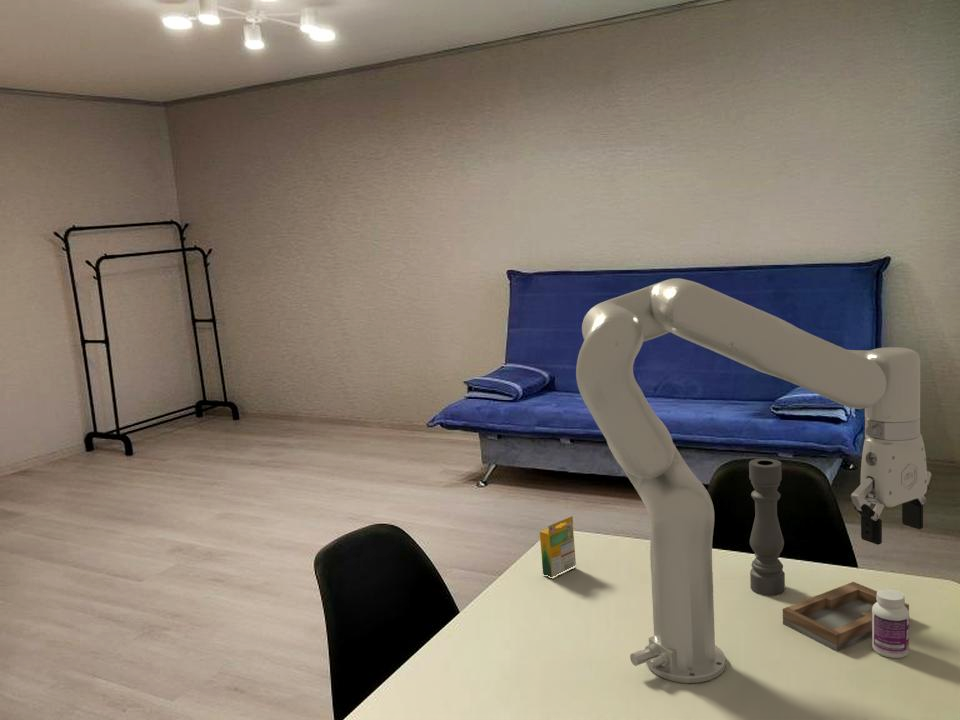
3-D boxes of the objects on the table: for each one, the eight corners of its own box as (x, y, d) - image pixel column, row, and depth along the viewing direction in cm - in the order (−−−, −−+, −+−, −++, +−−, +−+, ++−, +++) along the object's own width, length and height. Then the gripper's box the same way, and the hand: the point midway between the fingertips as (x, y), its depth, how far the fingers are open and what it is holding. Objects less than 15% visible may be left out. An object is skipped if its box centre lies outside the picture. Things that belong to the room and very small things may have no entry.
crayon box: (566, 564, 169) (563, 512, 167) (576, 568, 166) (573, 516, 164) (542, 575, 164) (538, 522, 162) (552, 579, 162) (548, 526, 160)
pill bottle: (915, 658, 124) (916, 601, 123) (881, 660, 124) (882, 603, 123) (898, 640, 129) (899, 585, 128) (865, 642, 130) (865, 587, 128)
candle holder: (779, 598, 147) (777, 469, 143) (746, 591, 150) (742, 465, 146) (789, 585, 151) (787, 460, 147) (756, 579, 155) (753, 456, 151)
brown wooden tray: (836, 651, 128) (836, 635, 127) (782, 623, 138) (782, 608, 137) (908, 619, 136) (909, 604, 135) (853, 595, 145) (853, 581, 145)
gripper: (876, 444, 114) (876, 555, 117) (951, 422, 121) (950, 527, 124) (832, 434, 121) (833, 540, 123) (906, 414, 128) (906, 514, 131)
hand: (892, 533), depth 124 cm, fingers open, 9 cm apart
